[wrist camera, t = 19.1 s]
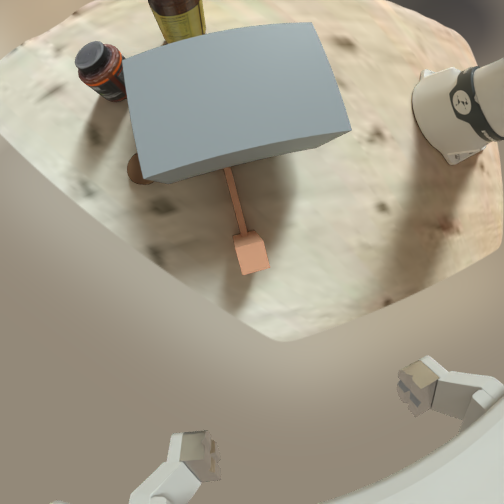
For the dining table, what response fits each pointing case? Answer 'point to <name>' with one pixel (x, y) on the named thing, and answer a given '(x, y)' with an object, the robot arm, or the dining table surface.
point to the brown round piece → (136, 171)
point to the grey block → (231, 99)
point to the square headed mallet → (246, 237)
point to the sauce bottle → (179, 18)
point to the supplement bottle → (102, 70)
